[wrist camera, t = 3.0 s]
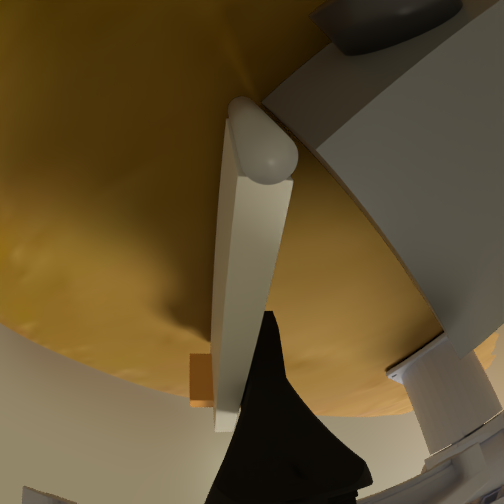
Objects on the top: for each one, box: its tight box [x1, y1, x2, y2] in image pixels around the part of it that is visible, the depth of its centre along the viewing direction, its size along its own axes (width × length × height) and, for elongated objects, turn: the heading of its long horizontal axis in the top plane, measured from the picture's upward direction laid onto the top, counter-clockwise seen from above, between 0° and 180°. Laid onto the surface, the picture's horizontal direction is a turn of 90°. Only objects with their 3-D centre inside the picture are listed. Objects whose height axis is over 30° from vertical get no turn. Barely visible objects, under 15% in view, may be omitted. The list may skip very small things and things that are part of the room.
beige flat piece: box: [190, 96, 298, 432], centre depth 9 cm, size 12×2×4 cm, turn 172°
